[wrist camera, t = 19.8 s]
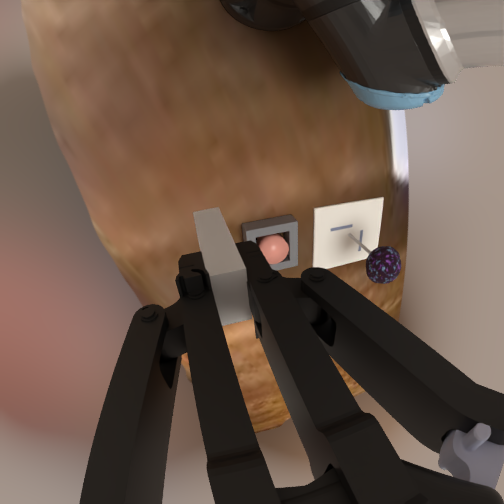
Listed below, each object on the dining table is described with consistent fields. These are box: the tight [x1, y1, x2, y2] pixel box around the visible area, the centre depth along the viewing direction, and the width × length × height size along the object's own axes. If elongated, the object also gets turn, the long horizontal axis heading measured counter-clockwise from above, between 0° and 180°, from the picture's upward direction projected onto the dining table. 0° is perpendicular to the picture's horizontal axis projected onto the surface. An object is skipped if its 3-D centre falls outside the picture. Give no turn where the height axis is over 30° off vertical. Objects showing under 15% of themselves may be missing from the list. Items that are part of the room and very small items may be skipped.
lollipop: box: [348, 233, 401, 284], centre depth 51 cm, size 7×7×15 cm
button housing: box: [242, 215, 298, 270], centre depth 53 cm, size 9×9×3 cm
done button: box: [256, 233, 289, 264], centre depth 52 cm, size 5×5×3 cm
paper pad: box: [312, 197, 384, 269], centre depth 58 cm, size 14×16×1 cm
